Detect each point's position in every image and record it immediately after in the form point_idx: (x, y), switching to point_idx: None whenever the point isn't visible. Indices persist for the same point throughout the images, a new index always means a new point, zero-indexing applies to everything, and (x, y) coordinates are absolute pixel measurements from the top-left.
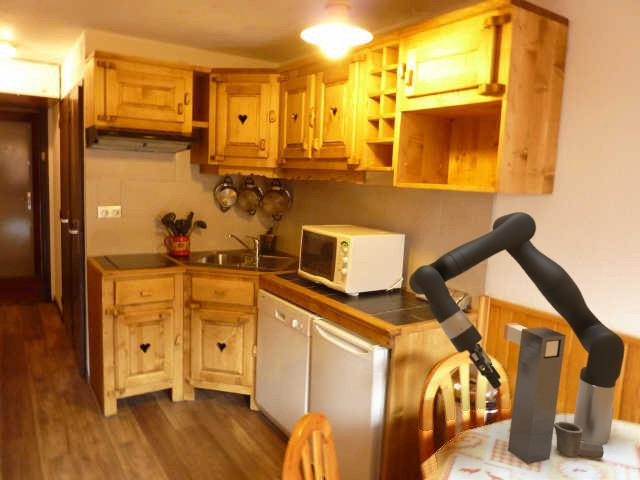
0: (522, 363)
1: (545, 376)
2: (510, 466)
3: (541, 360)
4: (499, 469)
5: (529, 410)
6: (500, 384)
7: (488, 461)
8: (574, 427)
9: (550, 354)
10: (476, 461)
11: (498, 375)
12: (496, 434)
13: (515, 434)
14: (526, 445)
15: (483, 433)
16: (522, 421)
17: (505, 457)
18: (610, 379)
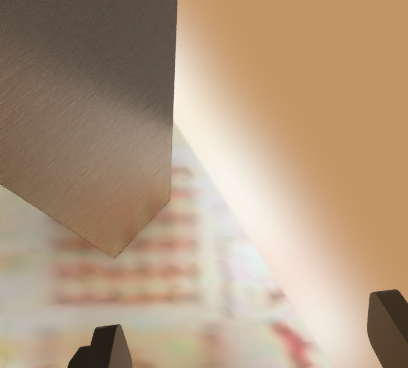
0: (18, 113)
1: None
2: (206, 241)
3: None
4: (241, 269)
5: (155, 155)
6: (398, 294)
7: (215, 305)
8: None
9: None
10: (236, 340)
11: (116, 345)
12: (19, 307)
13: (124, 231)
14: (162, 194)
15: (34, 352)
16: (137, 198)
17: (163, 260)
18: None
